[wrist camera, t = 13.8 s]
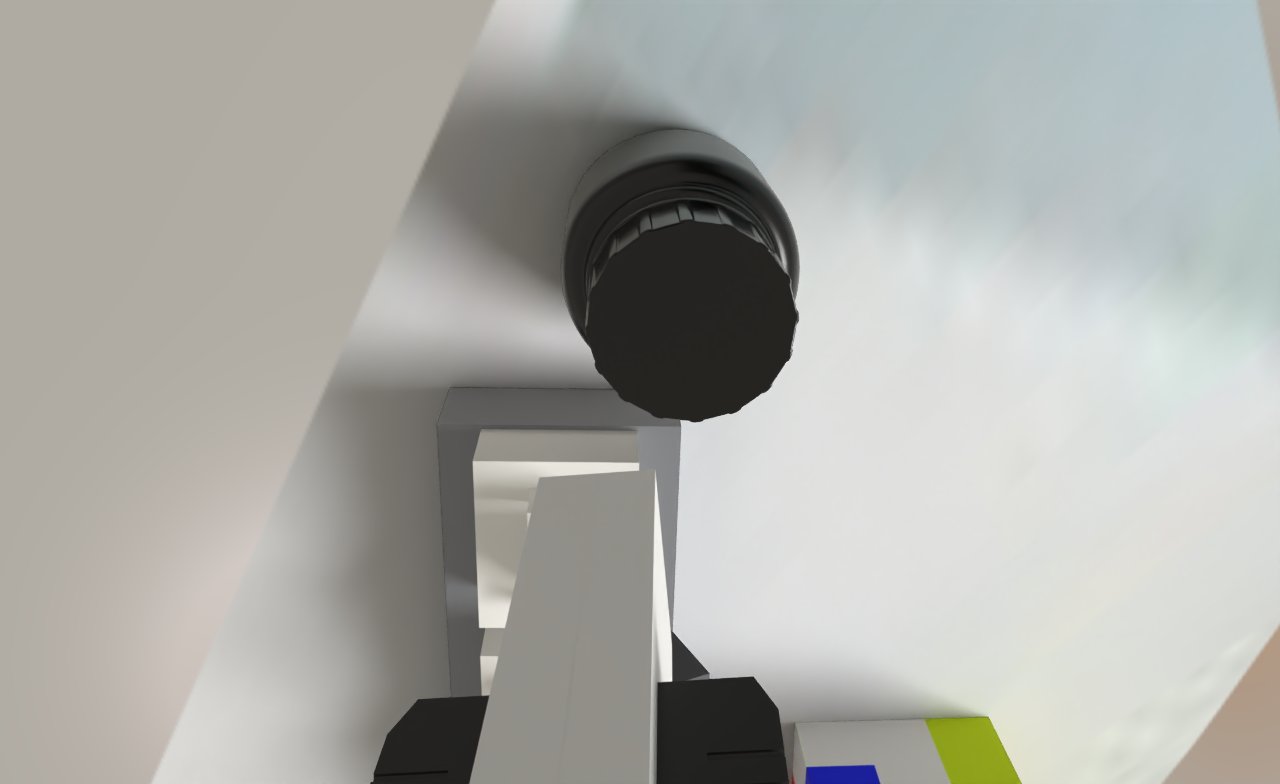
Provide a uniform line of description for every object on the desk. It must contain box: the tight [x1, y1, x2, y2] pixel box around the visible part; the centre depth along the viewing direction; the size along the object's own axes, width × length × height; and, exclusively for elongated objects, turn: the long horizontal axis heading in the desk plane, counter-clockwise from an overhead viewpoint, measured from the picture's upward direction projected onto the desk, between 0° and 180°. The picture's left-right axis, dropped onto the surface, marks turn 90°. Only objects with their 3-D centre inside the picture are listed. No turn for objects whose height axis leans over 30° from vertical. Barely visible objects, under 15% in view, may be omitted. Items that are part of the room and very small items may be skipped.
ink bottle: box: [561, 129, 800, 422], centre depth 40 cm, size 10×9×12 cm
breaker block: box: [437, 387, 710, 697], centre depth 44 cm, size 10×26×18 cm, turn 179°
